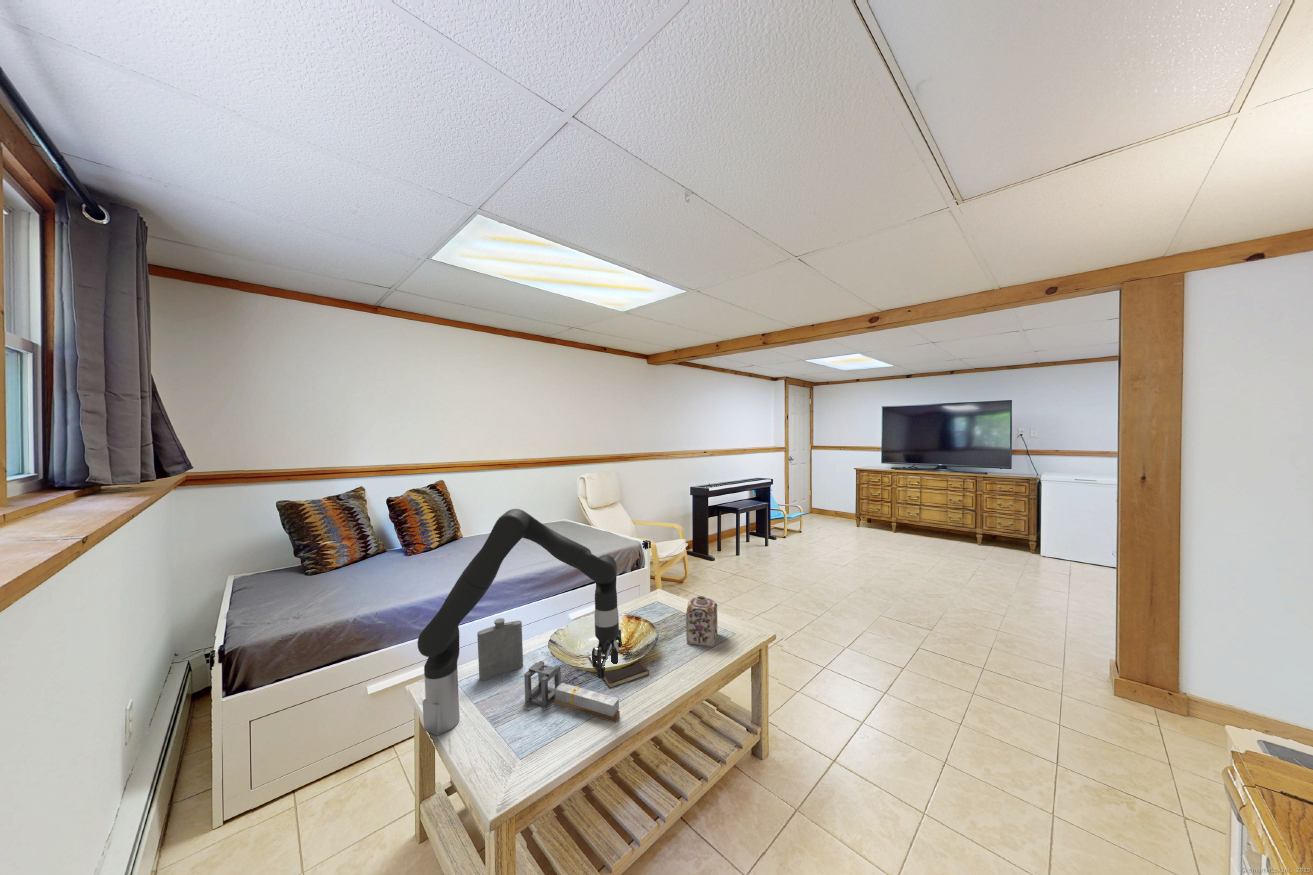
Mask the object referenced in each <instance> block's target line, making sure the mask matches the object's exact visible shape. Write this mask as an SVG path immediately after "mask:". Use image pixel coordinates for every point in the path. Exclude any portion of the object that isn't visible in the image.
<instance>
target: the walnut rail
mask: <svg viewBox="0 0 1313 875" xmlns="http://www.w3.org/2000/svg"><path fill="white" fill-rule="evenodd" d="M553 703H554V705H557V706H559V707H561V706H562V707H564V708H566V709H567V708H568V709H570V710H575V711H577V712H581V713H583V714H587V715H591V716H593V717H597V718H600V719H603V720H606V721H610V722H613V723H617V721H619V719H620V716H621V715H620V710H618V711H617V713H616V714H615V715H614V717H612V716H609V715H605V714H602V713H599V712H595V711H592V710H589V709H586V708H582V707H579V706H576V705H571V704H569V703H566V702H562V701H559V700H556V696H555V697H554V701H553Z"/></svg>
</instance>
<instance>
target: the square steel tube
mask: <svg viewBox="0 0 1313 875" xmlns="http://www.w3.org/2000/svg"><path fill="white" fill-rule="evenodd" d="M554 689H555V688H554ZM555 696H556V700H559V701H562V702H566V703H569V704H571V705H576V706H579V707H582V708H586V709H589V710H592V711H595V712H599V713H602V714H605V715H609V716H612V717H614V715H615V714H616V713H617V711H620V701H619V700H620V699H619V698H618V697H615V696H612V695H607V694H605V693H600V692H596V691H594V690H589V689H586V688H583V687H580V686H575V685H571V684H567V683H565V682H561V684H560V685H559V686H558V687H557V688H556V689H555Z"/></svg>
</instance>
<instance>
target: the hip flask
mask: <svg viewBox="0 0 1313 875" xmlns="http://www.w3.org/2000/svg"><path fill="white" fill-rule="evenodd" d="M493 623H494V625H493V626H490V627H487V628H485V629H481V630H479V631H477V633H476V634H477V635H476V637H477V653H478V654H477V658H478V677H479V678H478V679H479V681H481V682H484V681H487V680H489V679H492V678H494V677H496V676H499V675H501V674H505V673H508V672H512V671H517V670H520V669H522V668H523V667H524V651H523V650H524V649H523V646H524V645H523V627H522V626H523V624H522V623H523V622H522V620H515V621H508V622H505V618H501V617H499V618H497V619H495V620H494V622H493Z"/></svg>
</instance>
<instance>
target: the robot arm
mask: <svg viewBox="0 0 1313 875" xmlns="http://www.w3.org/2000/svg"><path fill="white" fill-rule="evenodd" d="M522 539H526V540H528V541H531V542H534V543H536V544H537V545H538V546H540V547H541V548H543V549H544V550H546V551H547V552H548V553H549V554H550V555H551V556H552V557H554V558H555V559H556V560H558V561H560V562H562V563H564V564H566V565H568V566H570V567H573V568H574V569H576V570H579V571H580V572H581V573H583V575H585V576H586V577H587V578H589V579H591V580H592V581H594V582H595V589H594V614H593V615H594V636H595V637H596V639H597V640H598V645H597V647H592V650H591V651H592V661H591V662H592V665H591V666H592V668H594V669H596V671H597V672H596V673H597V676H596V677H597V679H601V680H604V678H605V667H604V666H605V662H606V660H607V659H608V656H609V653H610V652H611V651H612V652H611V662H612V663H613V664H617V663H618V652H619V647H621V646H622V642H623V641H622V630H621V629H620V625H619V624H620V622H619V621H620V620H619V619H620V618H619V617H620V616H619V608H618V592H617V576H618V575H617V570H618V568H617V567H618V566H617V562H616V560H615V558H614V556H611V555H609V554H603V555H600V556H596V555H595V554H593V552H592V551H591V550H590V548H588V547H587V546H584V545H583V544H581V543H578V542H577V541H575V540H572V539H570V538H568V537H566V536H564V535H562V534H560V533H558V532H556V531H555V530H553V529H551V528H550V527H548V526H547V525H545V524H543V523H542V522H541V521H539V520H538V519H536V518H535V517H533V516H532V515H531V514H529V513H528V512H527V511H524V510H523V509H520V508H512V509H509V510H507V511H506V512H505V513H503V514H501V516H500V517H498V518H497V520H496V522H495V523H494V525H493V527H492V529H491V531H490V533H489V535H488V537H487V538H486V540H485V542H484V544H483V546H482V548H481V549H480V550H479V551H478V552H477V553H476V554H475V556H473V558H472V559H471V561H470V562H469V563H468V564H467V566H466V567H465V568H464V570H463V571H462V573H461V574H460V576H459V577H458V579H457V580H456V582H455V584H454V585H453V587H452V588H451V590H450V591H449V594H447V596H446V598H445V600H444V602H443V603H442V606H441V607H440V609H438V611H437V612H436V614H435V615H434V617H433V618H432V619H431V620H430V621H429V622H428V623H427V625H426V626H425V627H424V628H423V629H422V630H421V632H420V633H419V636H418V638H417V649H418V652H419V653H420V654H421V655H422V656H423V657H426V658H427V660H426V661H425V663H424V668H423V673H424V674H423V675H424V691H425V692H424V695H425V696H424V697H425V699H423V700H422V714H423V715H422V719H423V721H422V722H423V730H424V732H426V733H430V734H431V735H434V736H436V737H437V736H439V735H441V734H443V733H446V732H448V731H450V730H452V729H453V728H455V727H456V726H457V724H459V722H460V699H459V697H460V696H459V680H458V679H459V676H458V673H459V672H458V661H459V660H458V659H459V656H460V629H459V627H460V626H459V625H461V624H460V623H462V621H463V620H464V618H465V617H466V616H468V614H470V612H471V611H472V610H473V609H474V608H475V606H477V604H479V602H480V601H481V600H482V598H483V597H484V595H486V593H487V591H488V590H489V589H490V587H491V585H492V584H493V582H494V581H495V579H496V576H497V574H498V572H499V570H500V567H501V565H502V563H503V561H504V559H505V558H506V557H507V556H508V554H509V553H510V552H511V551H512V550H513V549H514V547H515V546H516V545H517V544H518V543H519V542H520V541H521V540H522ZM617 641H618V642H617ZM601 654H605V656H601ZM601 659H603V661H602V663H601ZM596 661H597V662H596Z"/></svg>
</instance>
